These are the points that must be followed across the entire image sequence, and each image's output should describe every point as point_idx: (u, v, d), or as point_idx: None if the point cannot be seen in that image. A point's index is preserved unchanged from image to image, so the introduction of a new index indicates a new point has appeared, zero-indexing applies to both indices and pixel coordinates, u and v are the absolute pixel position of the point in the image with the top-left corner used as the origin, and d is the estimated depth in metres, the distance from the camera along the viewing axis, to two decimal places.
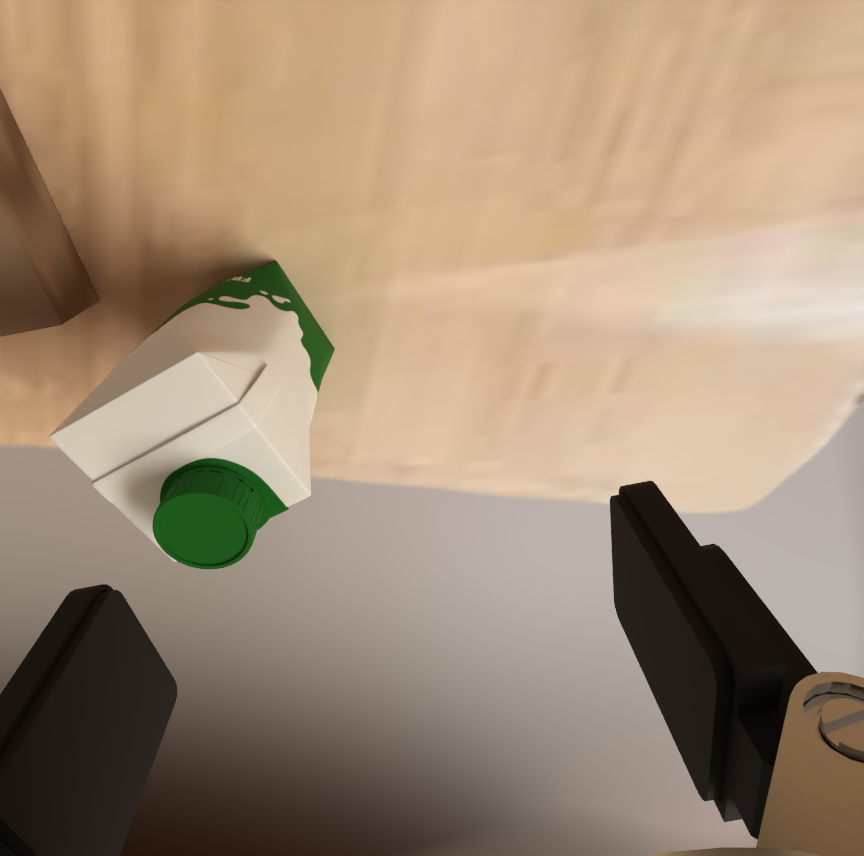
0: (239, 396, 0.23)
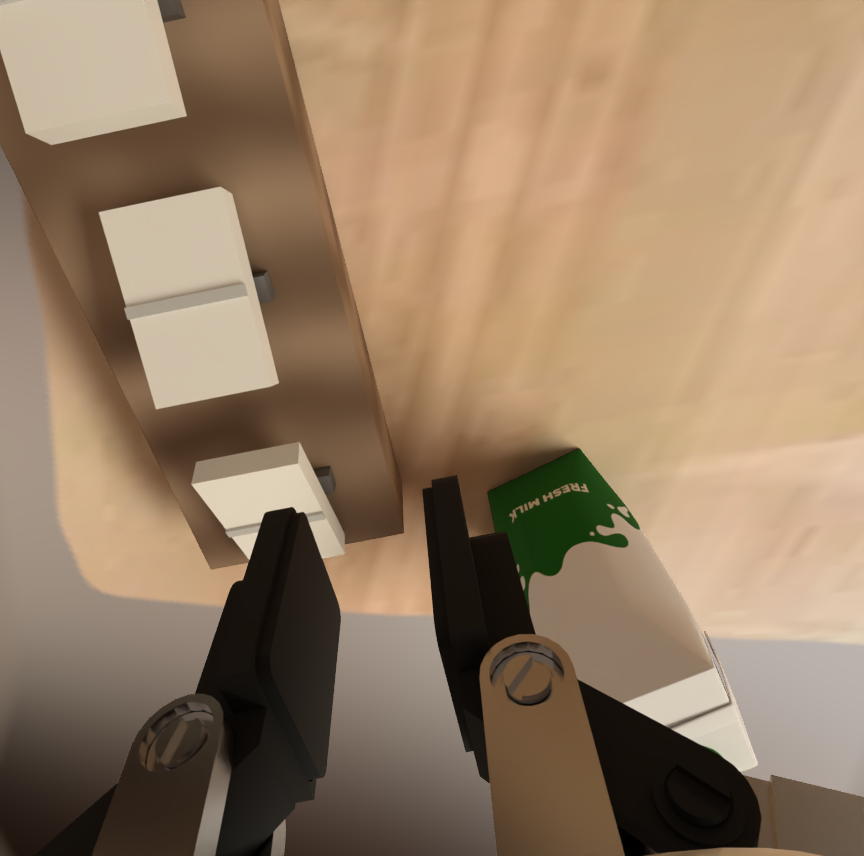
0: (726, 692, 0.24)
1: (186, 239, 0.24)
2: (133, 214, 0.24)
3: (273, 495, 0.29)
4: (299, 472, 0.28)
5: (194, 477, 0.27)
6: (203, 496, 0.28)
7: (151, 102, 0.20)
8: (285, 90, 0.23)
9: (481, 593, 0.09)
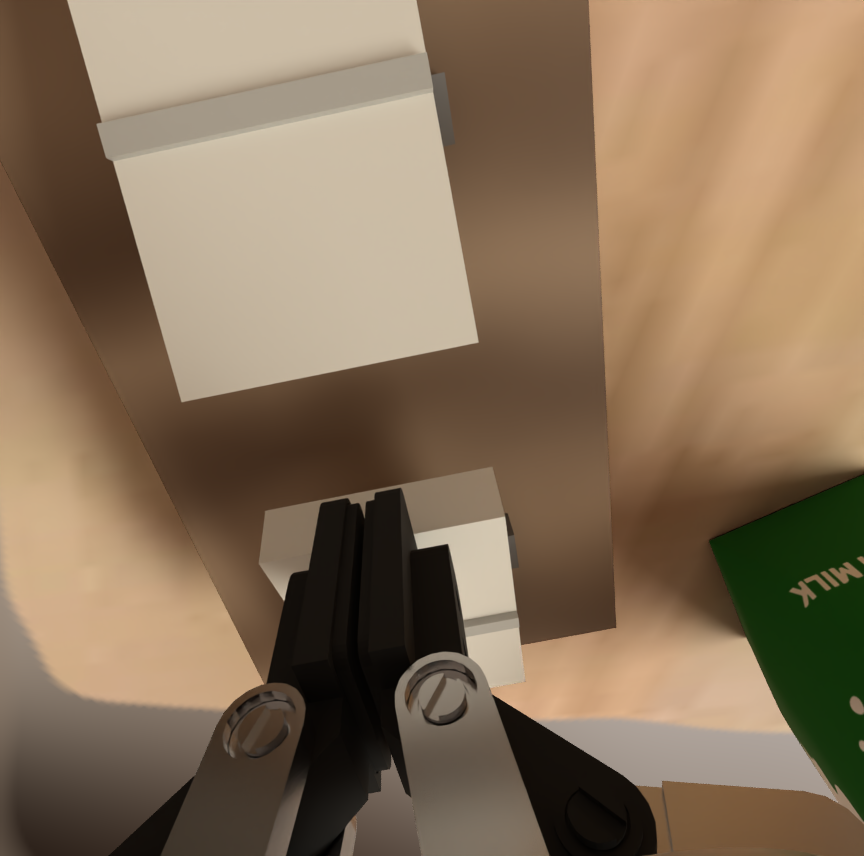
0: None
1: None
2: None
3: None
4: (501, 535, 0.12)
5: (264, 547, 0.12)
6: (282, 587, 0.13)
7: None
8: None
9: (414, 608, 0.09)
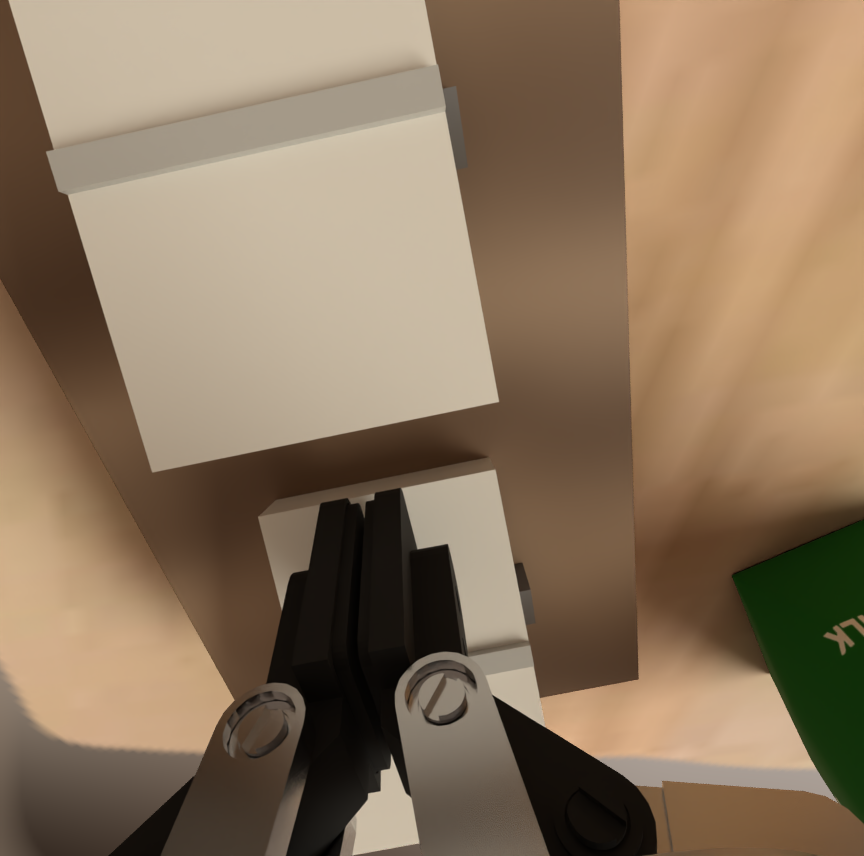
0: None
1: None
2: None
3: None
4: (495, 499, 0.12)
5: (267, 510, 0.13)
6: (276, 559, 0.12)
7: None
8: None
9: (414, 608, 0.09)
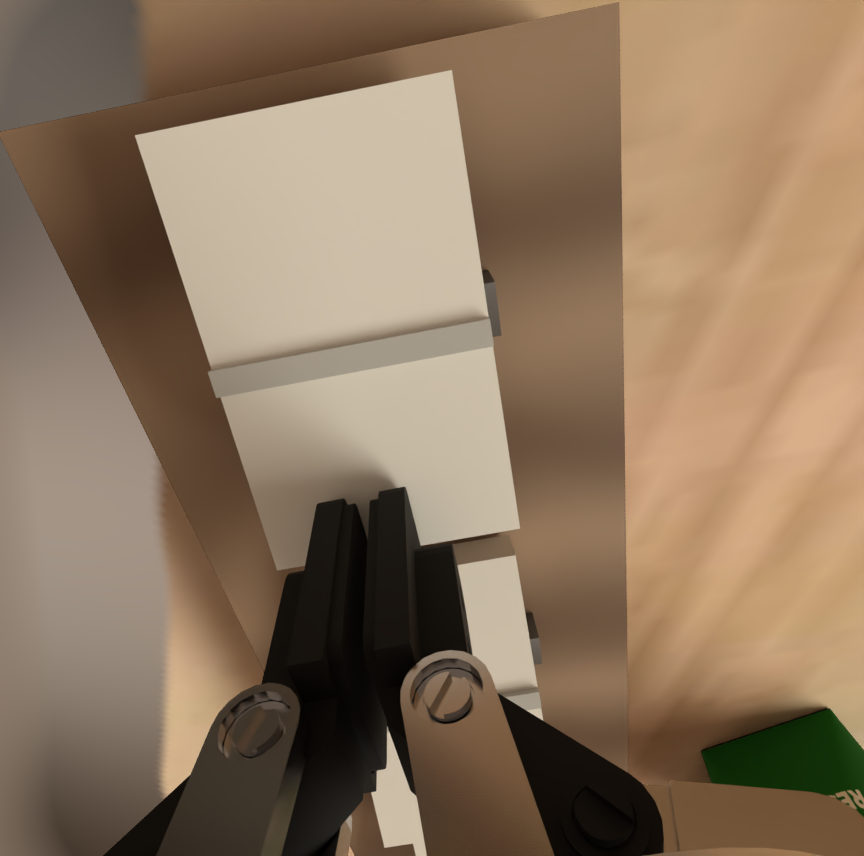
0: None
1: None
2: None
3: None
4: None
5: None
6: None
7: (488, 527, 0.12)
8: (622, 407, 0.15)
9: (419, 607, 0.09)
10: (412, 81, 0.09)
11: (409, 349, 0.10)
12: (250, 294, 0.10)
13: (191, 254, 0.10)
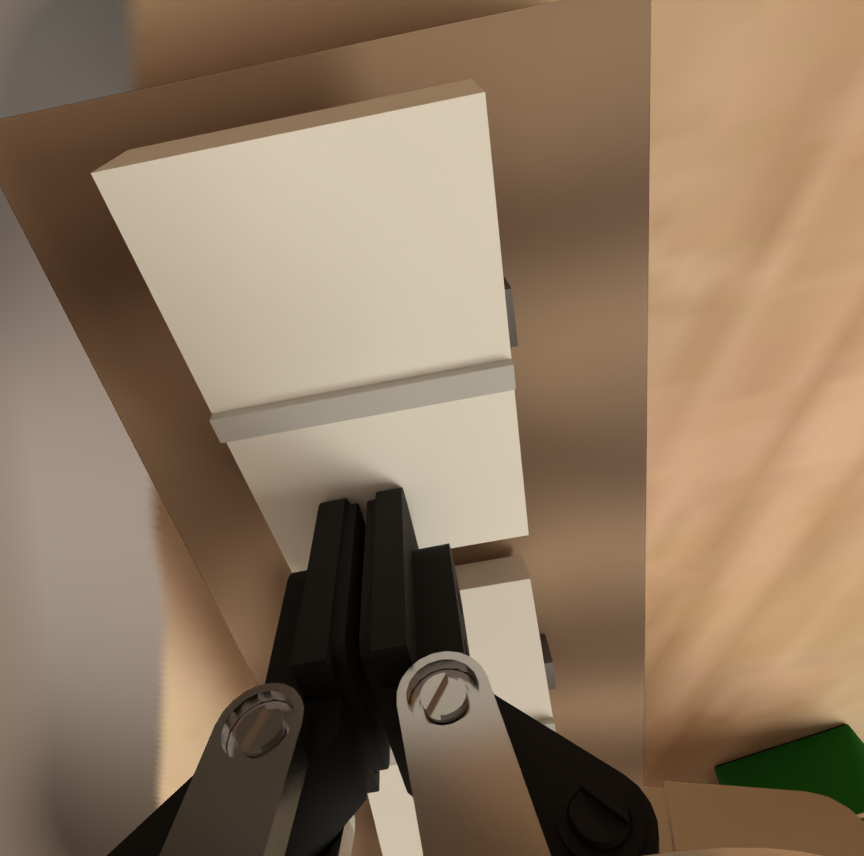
0: None
1: None
2: None
3: None
4: None
5: None
6: None
7: (497, 534, 0.12)
8: (644, 421, 0.14)
9: (415, 607, 0.09)
10: (435, 105, 0.07)
11: (426, 394, 0.10)
12: (248, 342, 0.09)
13: (177, 303, 0.09)
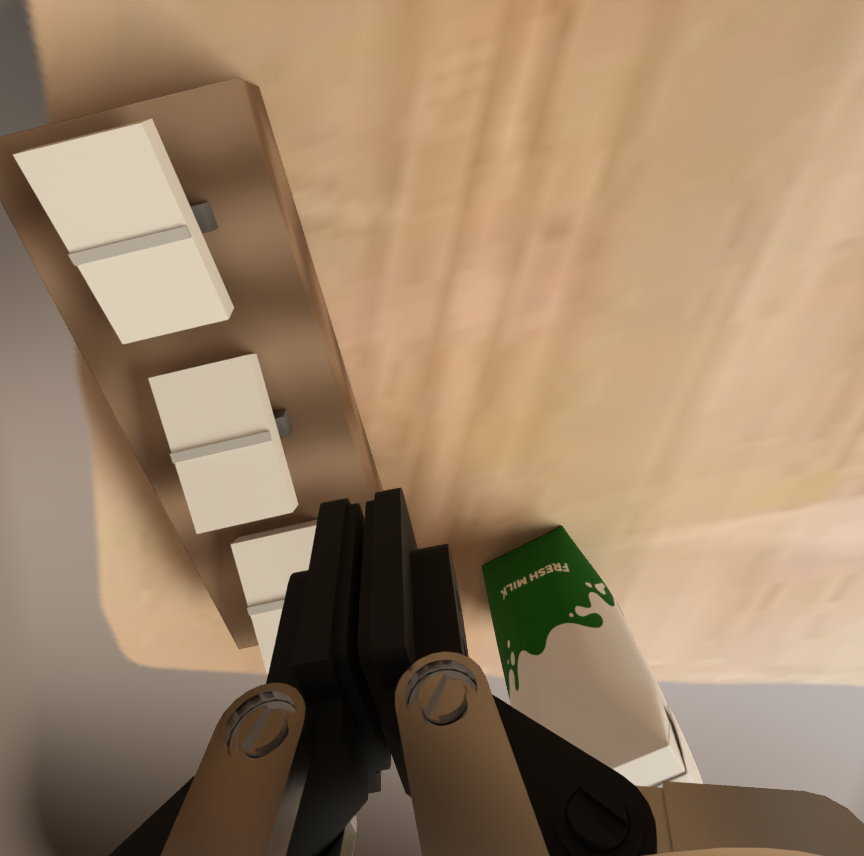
0: (682, 763, 0.28)
1: (220, 397, 0.29)
2: (177, 379, 0.29)
3: (292, 564, 0.34)
4: None
5: (234, 542, 0.34)
6: (237, 559, 0.34)
7: (214, 319, 0.27)
8: (299, 275, 0.29)
9: (414, 608, 0.09)
10: (125, 127, 0.22)
11: (154, 241, 0.24)
12: (79, 219, 0.24)
13: (49, 203, 0.23)
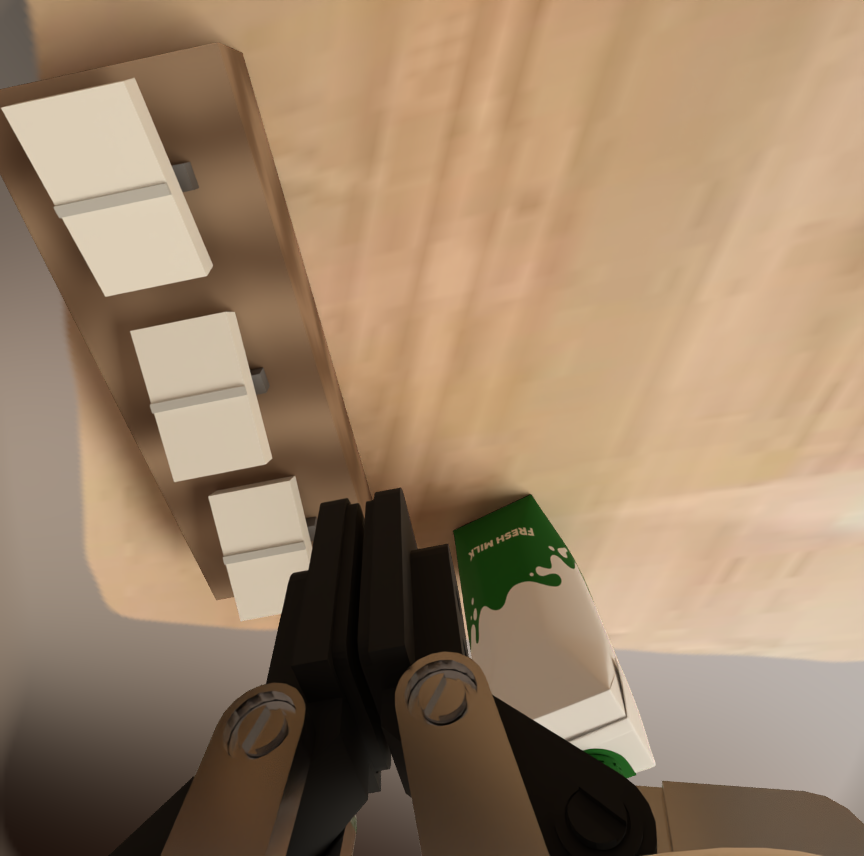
0: (623, 708, 0.30)
1: (198, 351, 0.30)
2: (157, 333, 0.30)
3: (267, 516, 0.36)
4: (290, 490, 0.36)
5: (211, 494, 0.36)
6: (214, 511, 0.36)
7: (193, 275, 0.28)
8: (276, 236, 0.30)
9: (414, 608, 0.09)
10: (108, 85, 0.23)
11: (135, 196, 0.26)
12: (64, 173, 0.25)
13: (35, 156, 0.25)
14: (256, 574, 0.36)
